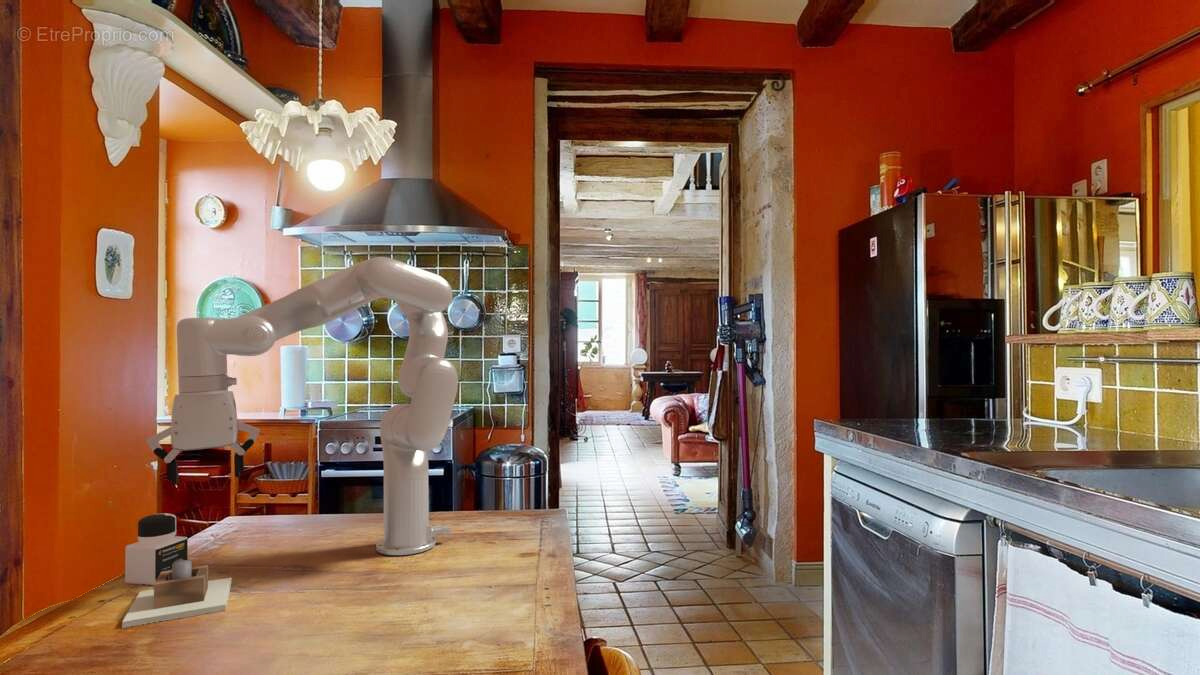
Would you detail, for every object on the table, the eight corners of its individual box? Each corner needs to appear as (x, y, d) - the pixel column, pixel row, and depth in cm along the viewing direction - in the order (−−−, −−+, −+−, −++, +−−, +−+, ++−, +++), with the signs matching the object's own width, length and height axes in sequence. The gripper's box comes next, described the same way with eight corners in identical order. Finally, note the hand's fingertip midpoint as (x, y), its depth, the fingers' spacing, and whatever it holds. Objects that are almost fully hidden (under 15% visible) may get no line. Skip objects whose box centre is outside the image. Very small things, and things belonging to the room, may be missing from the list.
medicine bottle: (155, 586, 115) (156, 521, 115) (124, 583, 117) (124, 519, 117) (188, 572, 122) (188, 511, 122) (158, 570, 124) (158, 510, 124)
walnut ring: (208, 587, 112) (208, 564, 112) (203, 600, 106) (203, 577, 106) (161, 594, 109) (161, 571, 109) (153, 609, 102) (153, 584, 102)
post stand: (231, 582, 116) (231, 545, 117) (225, 610, 104) (225, 568, 104) (140, 597, 110) (140, 557, 110) (122, 628, 98) (122, 583, 98)
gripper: (258, 381, 119) (261, 470, 120) (148, 387, 111) (152, 482, 111) (257, 383, 113) (261, 477, 113) (141, 390, 105) (144, 491, 105)
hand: (206, 479), depth 112 cm, fingers open, 9 cm apart
